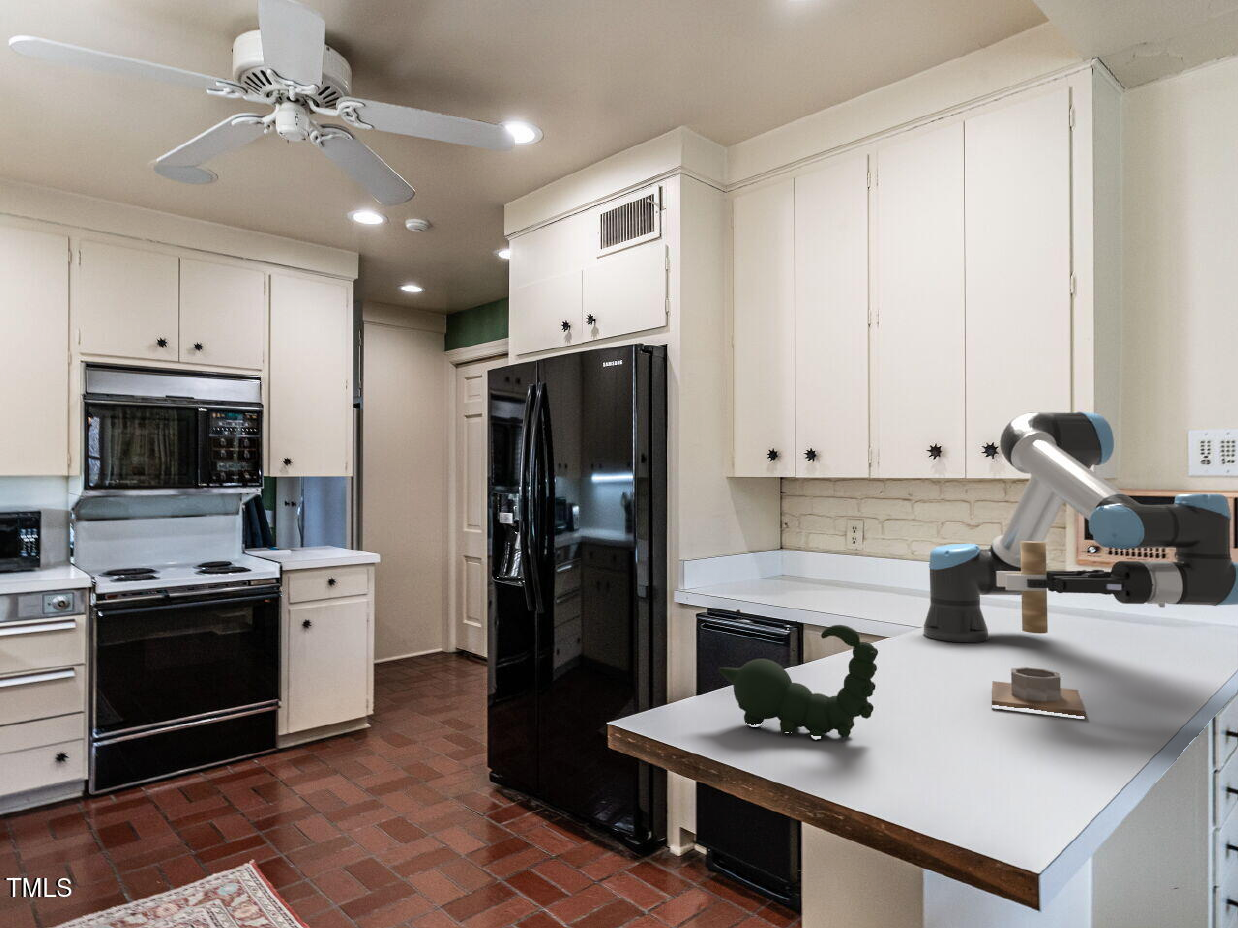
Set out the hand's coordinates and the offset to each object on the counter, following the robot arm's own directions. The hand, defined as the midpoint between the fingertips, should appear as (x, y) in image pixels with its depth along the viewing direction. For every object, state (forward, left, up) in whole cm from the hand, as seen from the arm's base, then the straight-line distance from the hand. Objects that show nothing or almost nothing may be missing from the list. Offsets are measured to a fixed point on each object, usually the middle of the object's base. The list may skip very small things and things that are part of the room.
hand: (1001, 580), depth 135 cm
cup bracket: (+5, +2, -22) cm, 23 cm away
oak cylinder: (+5, +2, -9) cm, 10 cm away
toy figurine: (-30, -32, -22) cm, 49 cm away
